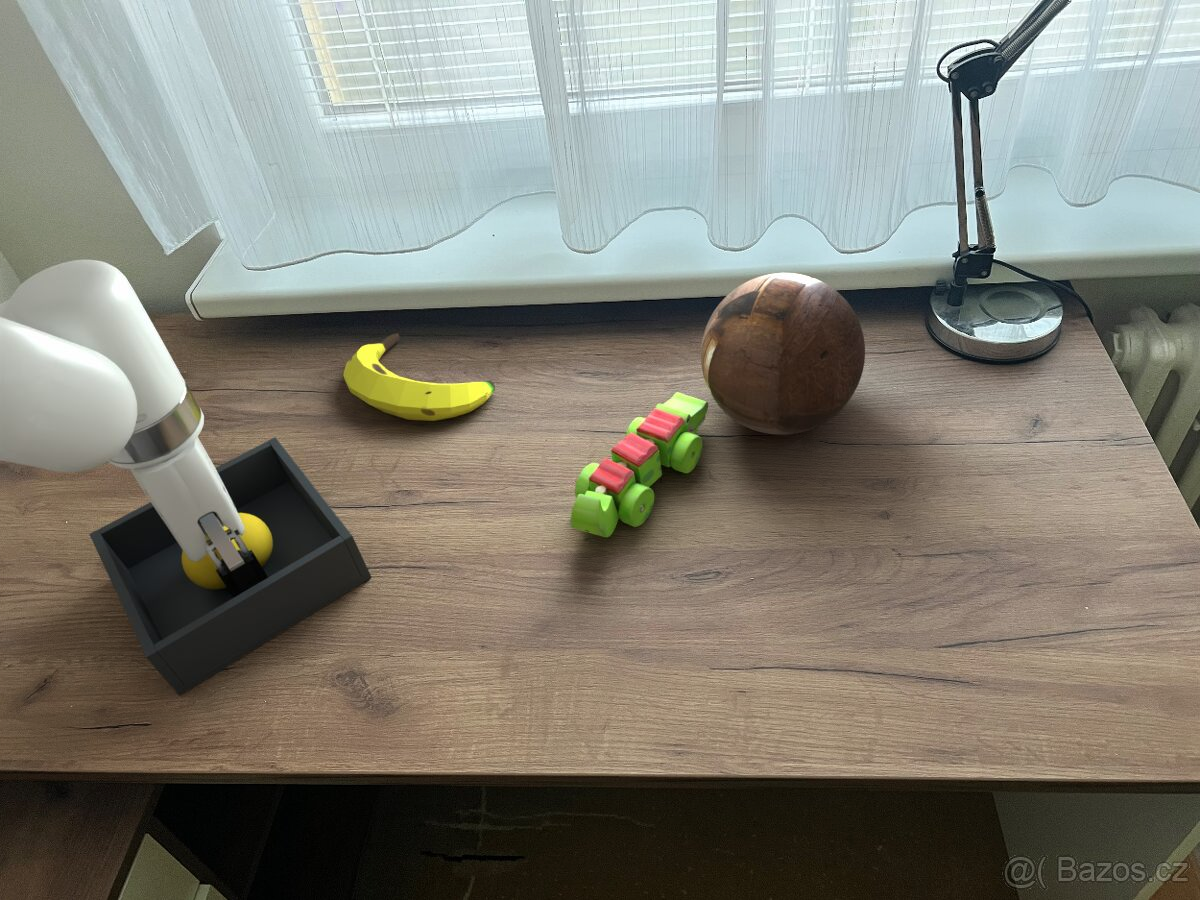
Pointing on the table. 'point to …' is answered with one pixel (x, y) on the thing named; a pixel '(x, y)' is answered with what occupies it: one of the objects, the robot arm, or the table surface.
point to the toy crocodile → (638, 466)
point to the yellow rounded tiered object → (253, 538)
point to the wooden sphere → (782, 353)
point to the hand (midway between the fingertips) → (238, 566)
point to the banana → (409, 388)
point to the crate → (213, 617)
